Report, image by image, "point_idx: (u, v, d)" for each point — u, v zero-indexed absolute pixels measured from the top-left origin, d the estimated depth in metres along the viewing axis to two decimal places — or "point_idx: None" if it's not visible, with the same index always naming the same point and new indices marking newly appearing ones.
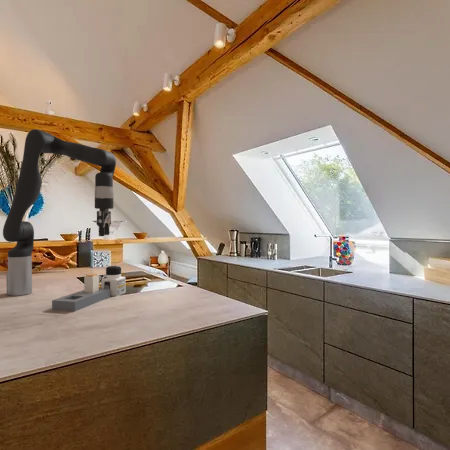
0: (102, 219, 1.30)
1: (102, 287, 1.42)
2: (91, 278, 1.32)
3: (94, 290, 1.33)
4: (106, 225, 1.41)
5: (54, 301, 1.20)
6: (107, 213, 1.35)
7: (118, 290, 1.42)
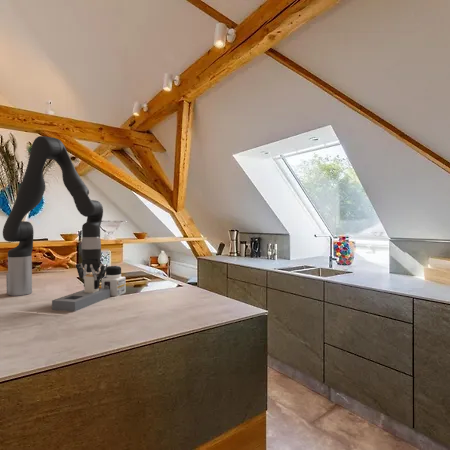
0: None
1: (102, 287, 1.42)
2: (91, 278, 1.32)
3: (94, 290, 1.33)
4: None
5: (54, 301, 1.20)
6: None
7: (118, 290, 1.42)
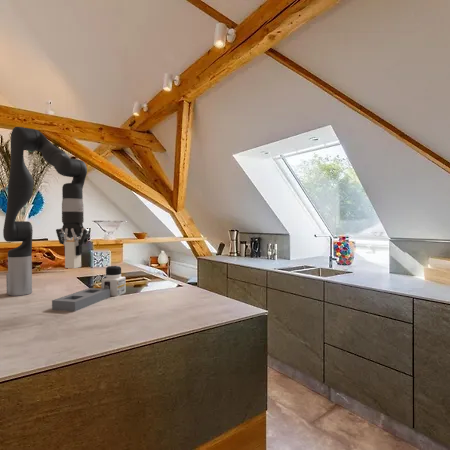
0: (87, 238, 1.23)
1: (102, 287, 1.42)
2: (72, 243, 1.21)
3: (75, 257, 1.22)
4: None
5: (54, 301, 1.20)
6: None
7: (118, 290, 1.42)
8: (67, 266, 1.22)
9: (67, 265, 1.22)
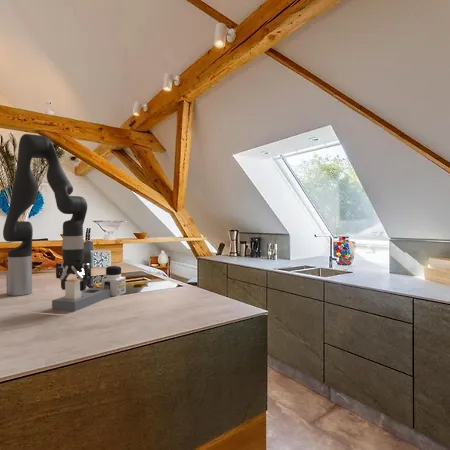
0: (90, 272, 1.23)
1: (102, 287, 1.42)
2: (72, 283, 1.22)
3: (76, 296, 1.23)
4: (64, 278, 1.25)
5: (54, 301, 1.20)
6: None
7: (118, 290, 1.42)
8: None
9: None
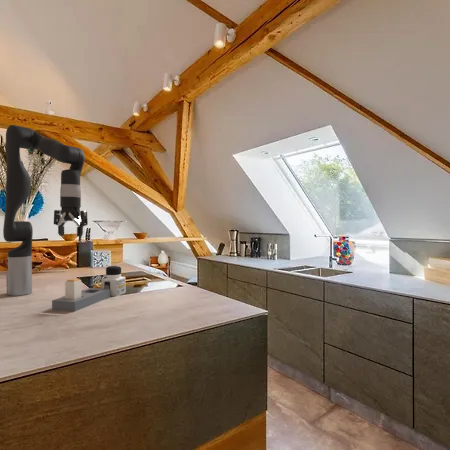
0: None
1: (102, 287, 1.42)
2: (72, 283, 1.22)
3: (76, 296, 1.23)
4: (61, 225, 1.32)
5: (54, 301, 1.20)
6: None
7: (118, 290, 1.42)
8: None
9: None
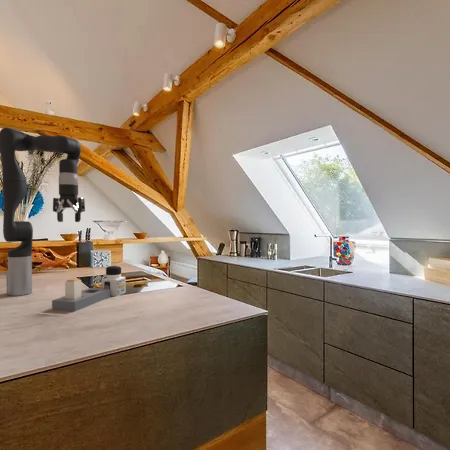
0: (84, 205, 1.38)
1: (102, 287, 1.42)
2: (72, 283, 1.22)
3: (76, 296, 1.23)
4: (60, 212, 1.39)
5: (54, 301, 1.20)
6: None
7: (118, 290, 1.42)
8: None
9: None
